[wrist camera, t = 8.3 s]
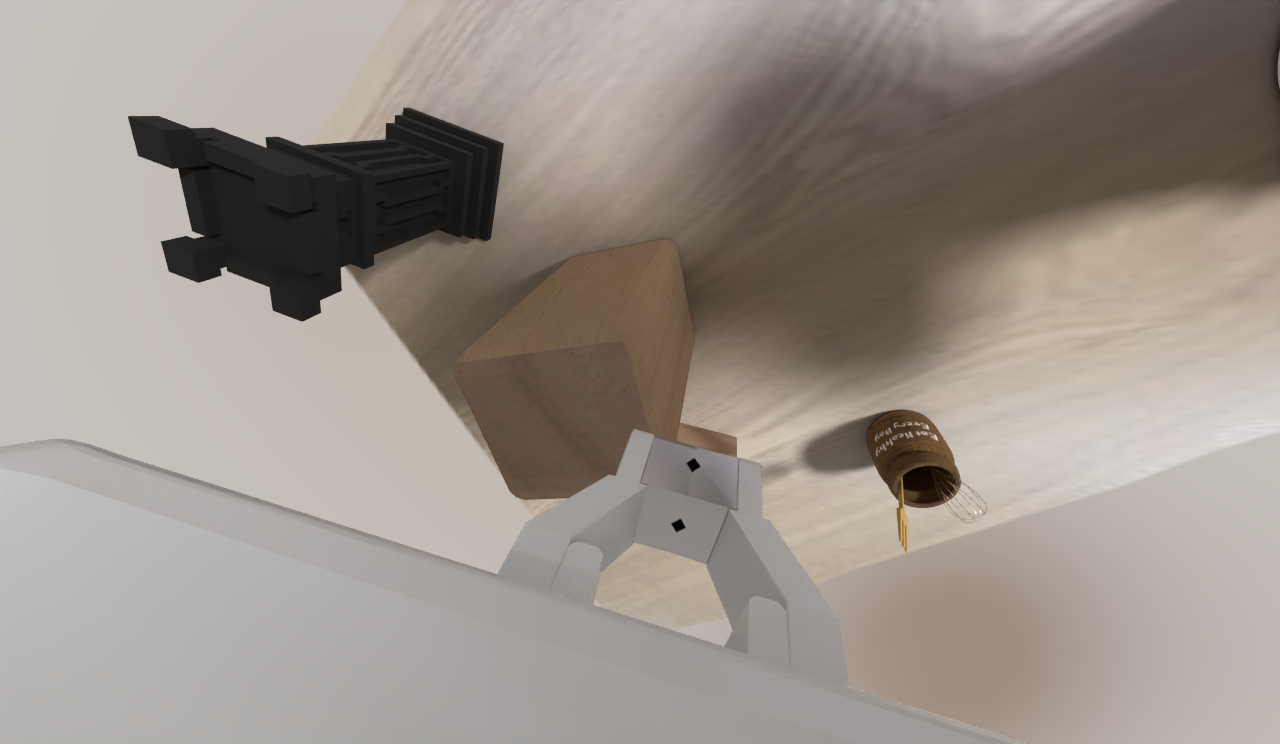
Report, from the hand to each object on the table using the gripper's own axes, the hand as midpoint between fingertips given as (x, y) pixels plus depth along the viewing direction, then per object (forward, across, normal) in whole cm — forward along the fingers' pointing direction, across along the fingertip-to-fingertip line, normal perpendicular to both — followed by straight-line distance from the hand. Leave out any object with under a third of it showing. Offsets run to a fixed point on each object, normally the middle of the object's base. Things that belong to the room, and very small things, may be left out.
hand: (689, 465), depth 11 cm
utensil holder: (+30, -20, +17) cm, 40 cm away
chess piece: (+29, +24, +2) cm, 38 cm away
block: (+29, +7, +9) cm, 31 cm away
